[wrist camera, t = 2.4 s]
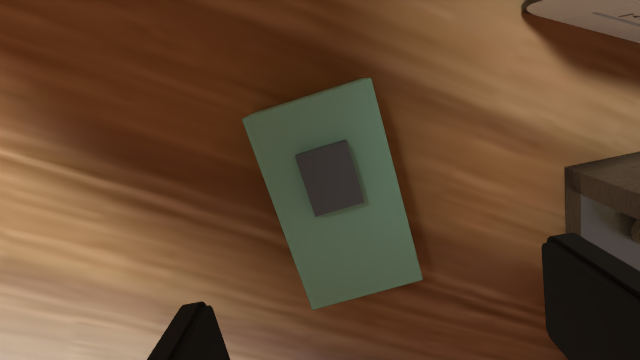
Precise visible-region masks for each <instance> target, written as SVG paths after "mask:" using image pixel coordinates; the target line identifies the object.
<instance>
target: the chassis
mask: <svg viewBox="0 0 640 360" xmlns="http://www.w3.org/2000/svg"><path fill="white" fill-rule="evenodd" d="M565 211H566V233H576V234H578V235H579V236H581V237H583V238H584V239H586V240H588V241H589V242H591V243H593V244H595V245H596V246H598V247H600V248H601V249H603V250H605V251H606V252H608V253H610V254H612V255H613V256H615V257H617V258H618V259H620V260H622V261H623V262H625V263H627V264H629V265H630V266H632V267H634V268H635V269H637V270H639V271H640V152H636V153H632V154H627V155H622V156H617V157H612V158H607V159H602V160H598V161H593V162H588V163H583V164H578V165H573V166H569V167H565ZM568 360H569V359H568Z"/></svg>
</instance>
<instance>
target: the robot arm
mask: <svg viewBox="0 0 640 360" xmlns="http://www.w3.org/2000/svg"><path fill="white" fill-rule="evenodd" d="M542 263H543V281H544V298H545V316H546V328H547V332H548V334H549V336H550V338H551V340H552V341H553V342H554V343H555V345H556V346H557V347H558V348H559V349H560V350H561V351H562V352H563V353H564V355H565V356H566V357H567V358H568V359H569V360H640V271H639V270H637V269H635V268H634V267H632V266H630V265H629V264H627V263H625V262H623V261H622V260H620V259H618V258H617V257H615V256H613V255H612V254H610V253H608V252H606V251H605V250H603V249H601V248H600V247H598V246H596V245H595V244H593V243H591V242H589V241H588V240H586V239H584V238H583V237H581V236H579V235H578V234H576V233H566V234H561V235H555V236H550V237H549V238H548V239H547V243H544V244H543V245H542ZM147 360H230V358H229V355H228V352H227V349H226V346H225V343H224V340H223V337H222V334H221V331H220V328H219V325H218V323H217V320H216V317H215V314H214V311H213V308H212V307H211V306H210V305H209V306H206V304H205V303H204V302H197V303H191V304H186V305H182V306H181V308H180V309H179V311H178V312H177V314H176V315H175V317H174V318H173V320H172V322H171V323H170V325H169V326H168V328H167V329H166V331H165V332H164V334H163V335H162V337H161V339H160V340H159V342H158V343H157V345H156V346H155V348H154V349H153V351H152V353H151V354H150V356H149V357H148V359H147Z"/></svg>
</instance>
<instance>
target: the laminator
mask: <svg viewBox="0 0 640 360" xmlns="http://www.w3.org/2000/svg"><path fill="white" fill-rule="evenodd" d="M521 9H522V10H523V11H524V12H526V13H529V14H533V15H536V16H540V17H544V18H547V19H551V20H555V21H559V22H562V23H566V24H570V25H574V26H577V27H581V28H585V29H588V30H592V31H596V32H600V33H603V34H607V35H611V36H615V37H618V38H622V39H626V40H629V41H633V42H637V43H640V0H525V1H524V2H523V4H522V6H521Z"/></svg>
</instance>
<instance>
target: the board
mask: <svg viewBox="0 0 640 360" xmlns="http://www.w3.org/2000/svg"><path fill="white" fill-rule="evenodd" d="M242 121H243V124H244V127H245V129H246V132H247V135H248V138H249V140H250V143H251V146H252V148H253V151H254V154H255V156H256V159H257V162H258V165H259V167H260V170H261V173H262V175H263V178H264V181H265V183H266V186H267V189H268V192H269V194H270V197H271V200H272V202H273V205H274V208H275V210H276V213H277V216H278V219H279V221H280V224H281V227H282V229H283V232H284V235H285V237H286V240H287V243H288V246H289V248H290V251H291V254H292V256H293V259H294V262H295V264H296V267H297V270H298V273H299V275H300V278H301V281H302V283H303V286H304V289H305V292H306V294H307V297H308V300H309V302H310V305H311V308H312V310H315V309H318V308H322V307H326V306H329V305H333V304H337V303H340V302H344V301H348V300H351V299H355V298H358V297H362V296H366V295H369V294H373V293H377V292H380V291H384V290H388V289H391V288H395V287H398V286H402V285H406V284H409V283H413V282H417V281H420V280H423V278H422V274H421V270H420V266H419V262H418V259H417V255H416V251H415V247H414V243H413V239H412V235H411V231H410V227H409V223H408V220H407V216H406V212H405V208H404V204H403V200H402V196H401V192H400V188H399V185H398V181H397V177H396V173H395V169H394V165H393V161H392V157H391V153H390V150H389V146H388V142H387V138H386V134H385V130H384V126H383V122H382V118H381V114H380V111H379V107H378V103H377V99H376V95H375V91H374V87H373V83H372V79H371V78H361V79H358V80H355V81H352V82H348V83H345V84H342V85H339V86H336V87H333V88H330V89H327V90H323V91H320V92H317V93H314V94H311V95H308V96H305V97H301V98H298V99H295V100H292V101H289V102H286V103H283V104H280V105H276V106H273V107H270V108H267V109H264V110H261V111H258V112H255V113H252V114H250V115H248V116H246V117H245V118H243V119H242Z"/></svg>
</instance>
